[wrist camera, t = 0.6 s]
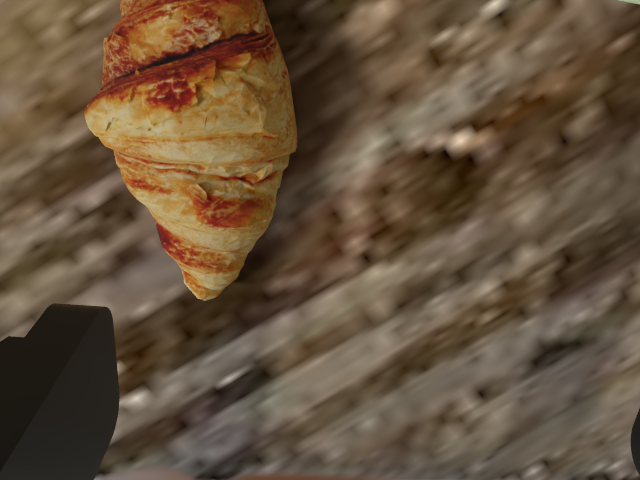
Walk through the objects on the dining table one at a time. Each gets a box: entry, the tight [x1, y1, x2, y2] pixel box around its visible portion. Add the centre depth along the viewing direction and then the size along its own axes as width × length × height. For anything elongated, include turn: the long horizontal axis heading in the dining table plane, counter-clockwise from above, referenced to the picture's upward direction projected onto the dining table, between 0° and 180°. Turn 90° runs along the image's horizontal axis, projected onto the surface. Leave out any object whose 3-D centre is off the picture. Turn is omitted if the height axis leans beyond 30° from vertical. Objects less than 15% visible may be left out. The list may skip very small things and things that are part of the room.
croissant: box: [85, 0, 298, 301], centre depth 30 cm, size 21×10×8 cm, turn 179°
